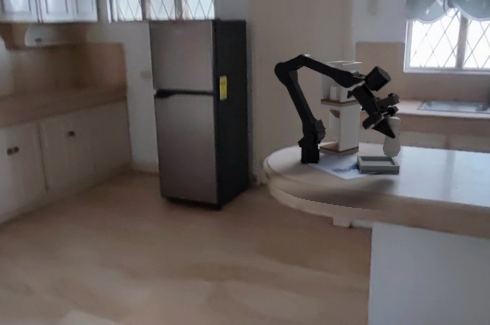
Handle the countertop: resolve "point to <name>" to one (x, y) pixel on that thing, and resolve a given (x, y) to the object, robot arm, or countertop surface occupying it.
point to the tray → (378, 164)
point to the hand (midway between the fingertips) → (396, 136)
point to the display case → (341, 112)
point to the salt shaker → (392, 145)
